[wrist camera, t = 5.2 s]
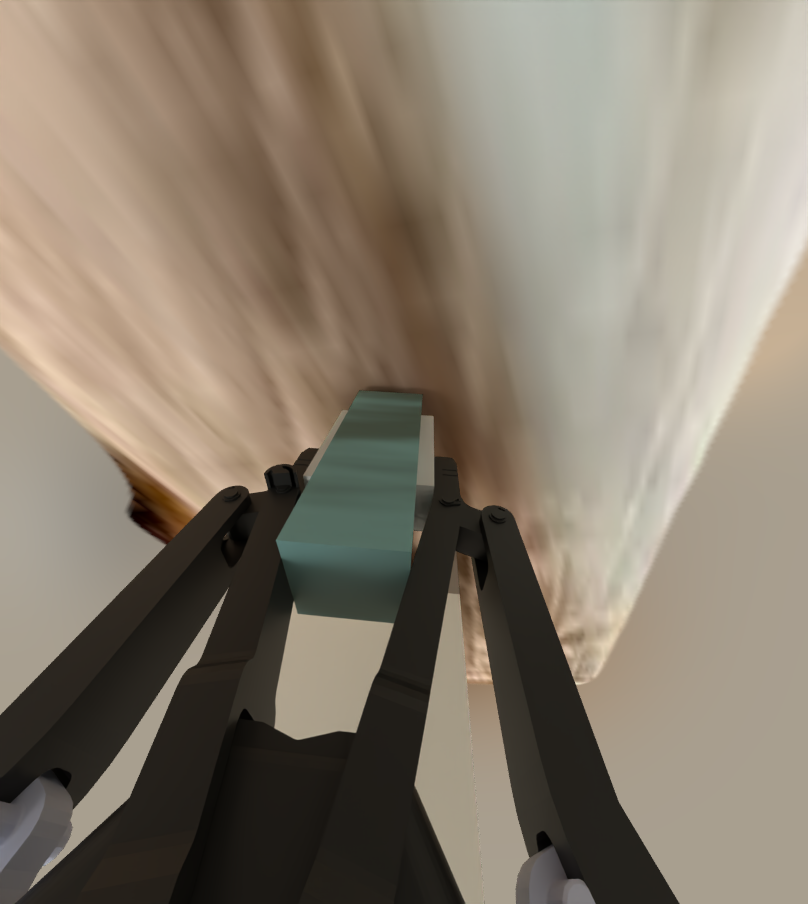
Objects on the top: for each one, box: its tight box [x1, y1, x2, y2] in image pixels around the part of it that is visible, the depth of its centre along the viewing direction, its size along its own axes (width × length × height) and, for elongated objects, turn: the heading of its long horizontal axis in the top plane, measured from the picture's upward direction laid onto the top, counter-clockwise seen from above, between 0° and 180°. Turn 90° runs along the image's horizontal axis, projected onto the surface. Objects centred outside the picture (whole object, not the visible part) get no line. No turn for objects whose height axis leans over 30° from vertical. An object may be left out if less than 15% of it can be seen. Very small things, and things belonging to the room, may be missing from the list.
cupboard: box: [274, 551, 485, 904], centre depth 21 cm, size 11×15×22 cm
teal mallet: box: [276, 390, 423, 623], centre depth 19 cm, size 20×4×12 cm, turn 178°
